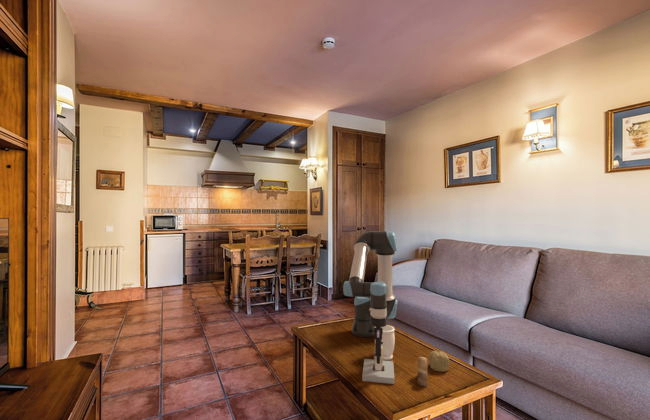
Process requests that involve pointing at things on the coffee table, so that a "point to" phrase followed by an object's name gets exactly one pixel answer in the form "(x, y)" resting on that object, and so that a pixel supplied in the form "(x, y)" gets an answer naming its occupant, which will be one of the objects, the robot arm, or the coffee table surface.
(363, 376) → the hole plate
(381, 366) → the birch pin
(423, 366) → the oak pin
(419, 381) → the walnut pin
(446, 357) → the decorative object
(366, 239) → the robot arm
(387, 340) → the jar
